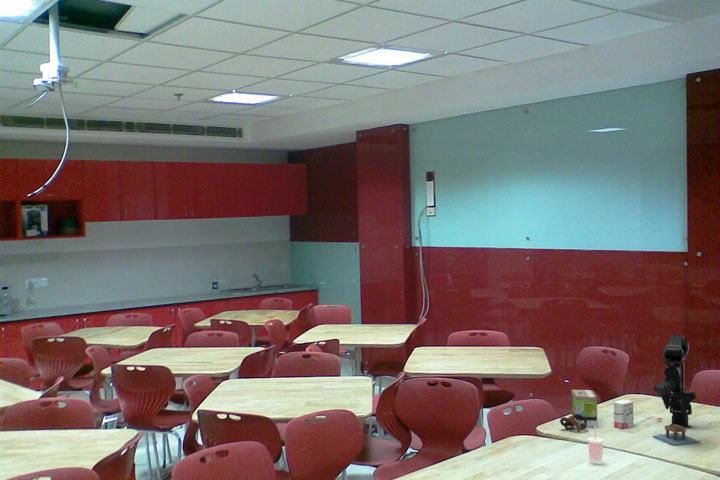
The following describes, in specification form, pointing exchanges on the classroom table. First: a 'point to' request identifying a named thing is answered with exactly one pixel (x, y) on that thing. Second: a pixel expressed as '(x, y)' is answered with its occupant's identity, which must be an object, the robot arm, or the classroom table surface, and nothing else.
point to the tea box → (585, 407)
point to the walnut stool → (675, 430)
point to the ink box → (623, 414)
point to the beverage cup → (595, 449)
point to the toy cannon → (574, 422)
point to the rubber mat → (679, 439)
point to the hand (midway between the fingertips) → (674, 411)
